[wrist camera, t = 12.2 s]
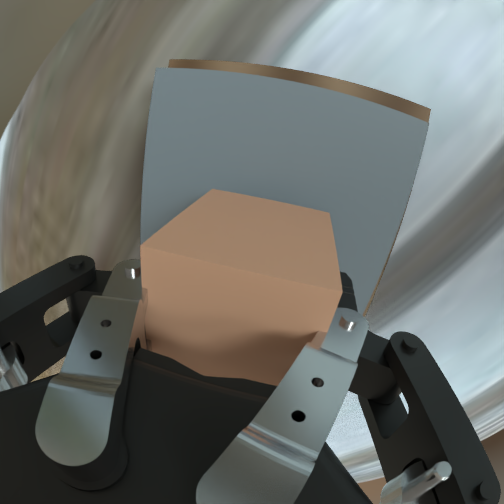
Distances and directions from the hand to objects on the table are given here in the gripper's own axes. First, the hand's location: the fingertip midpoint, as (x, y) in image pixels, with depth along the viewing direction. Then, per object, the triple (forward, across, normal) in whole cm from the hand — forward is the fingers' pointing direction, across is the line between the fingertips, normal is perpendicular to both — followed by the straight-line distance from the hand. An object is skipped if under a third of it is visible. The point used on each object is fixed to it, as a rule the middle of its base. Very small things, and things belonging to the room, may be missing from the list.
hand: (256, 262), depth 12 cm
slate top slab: (+6, 0, 0) cm, 6 cm away
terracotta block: (+1, 0, 0) cm, 1 cm away
